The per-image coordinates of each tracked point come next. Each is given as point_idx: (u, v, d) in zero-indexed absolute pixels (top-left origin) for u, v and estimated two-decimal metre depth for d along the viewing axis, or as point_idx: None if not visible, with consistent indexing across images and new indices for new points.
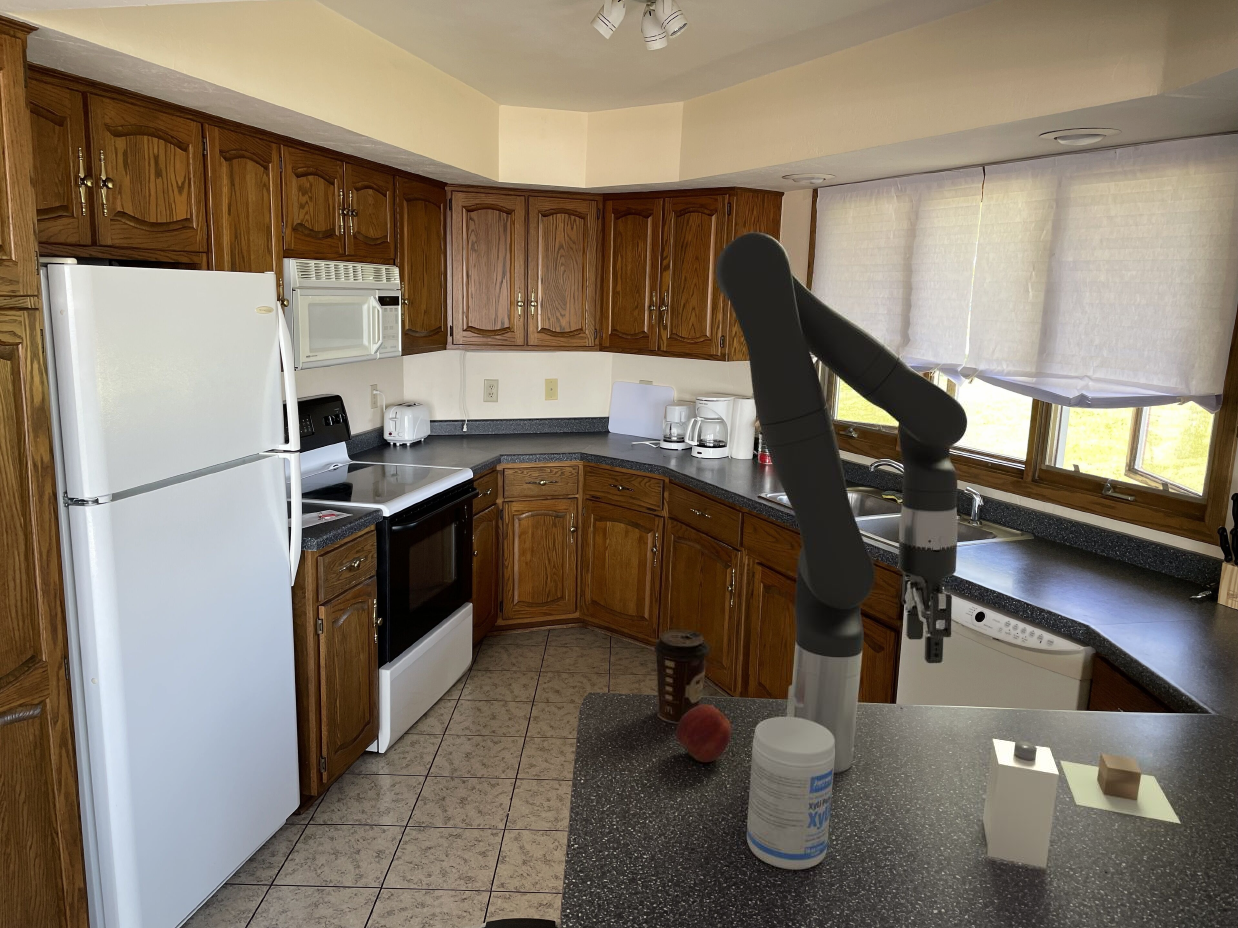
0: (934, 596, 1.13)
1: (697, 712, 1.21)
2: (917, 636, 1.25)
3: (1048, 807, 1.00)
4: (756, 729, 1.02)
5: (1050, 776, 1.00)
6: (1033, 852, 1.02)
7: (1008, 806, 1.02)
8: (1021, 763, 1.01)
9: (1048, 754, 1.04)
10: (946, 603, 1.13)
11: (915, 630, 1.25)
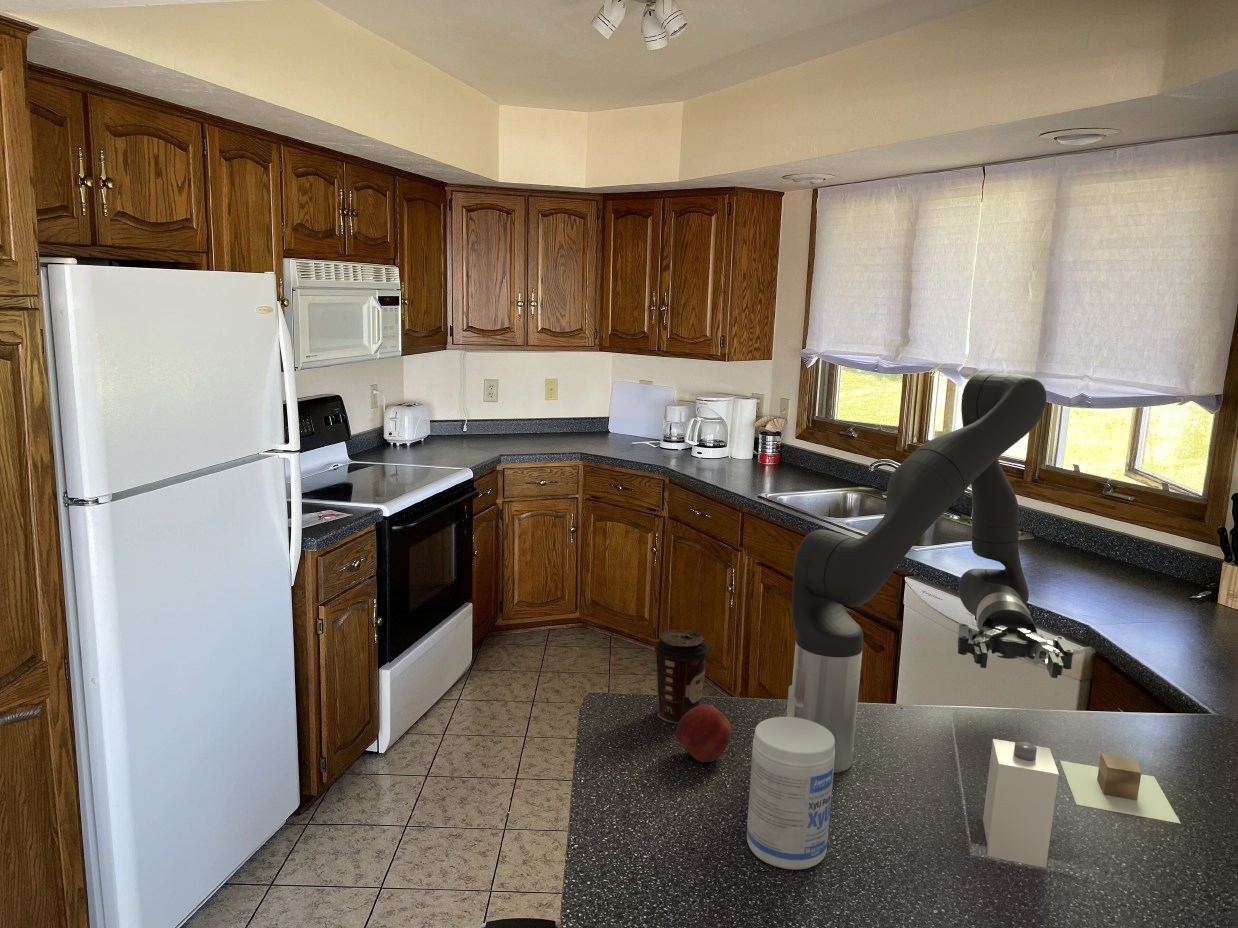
0: (1062, 638, 1.20)
1: (697, 712, 1.21)
2: (986, 662, 1.14)
3: (1048, 807, 1.00)
4: (756, 729, 1.02)
5: (1050, 776, 1.00)
6: (1033, 852, 1.02)
7: (1008, 806, 1.02)
8: (1021, 763, 1.01)
9: (1048, 754, 1.04)
10: None
11: None
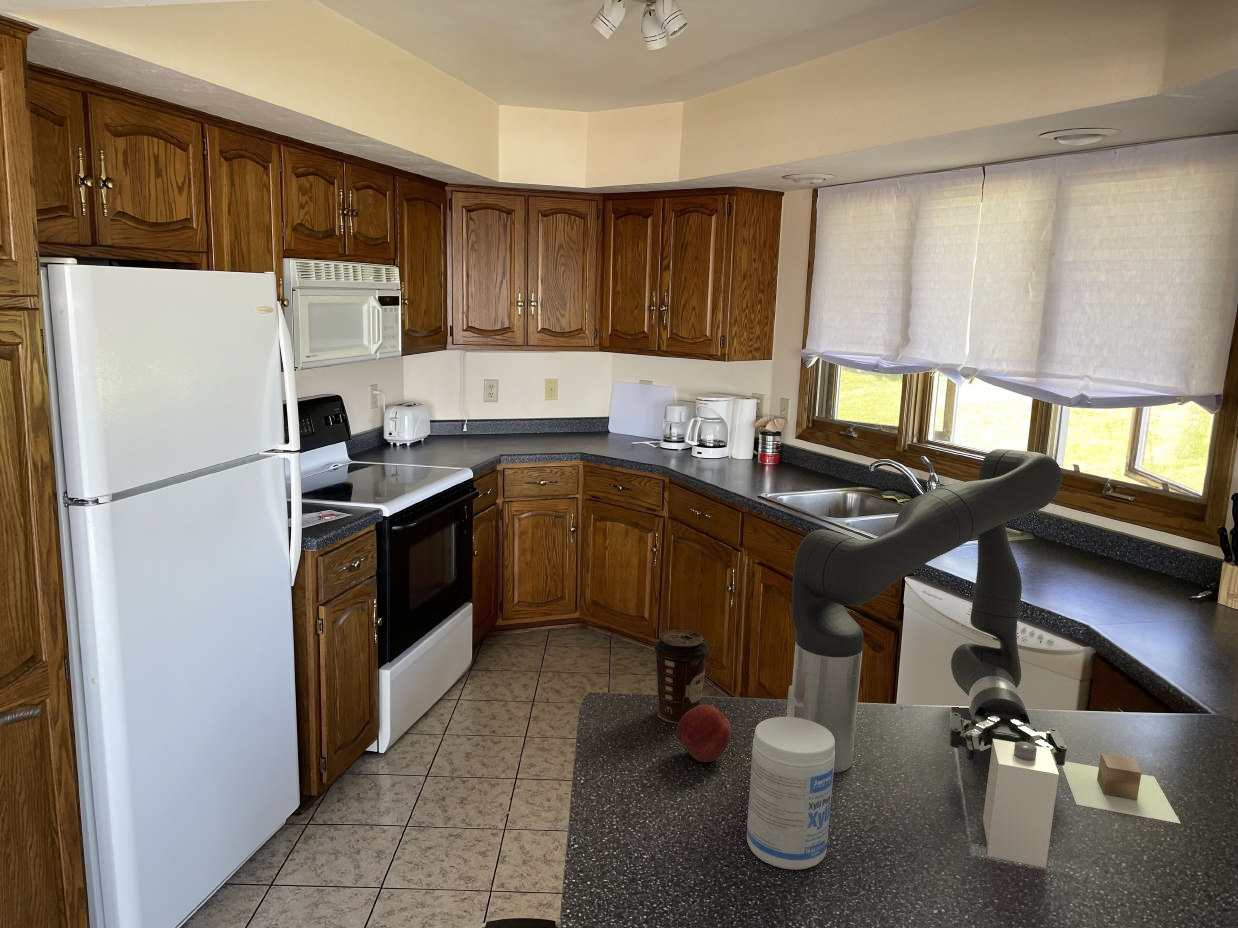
0: (1056, 730, 1.19)
1: (697, 712, 1.21)
2: (978, 758, 1.13)
3: (1048, 807, 1.00)
4: (756, 729, 1.02)
5: (1050, 776, 1.00)
6: (1033, 852, 1.02)
7: (1008, 806, 1.02)
8: (1021, 763, 1.01)
9: (1048, 754, 1.04)
10: None
11: None
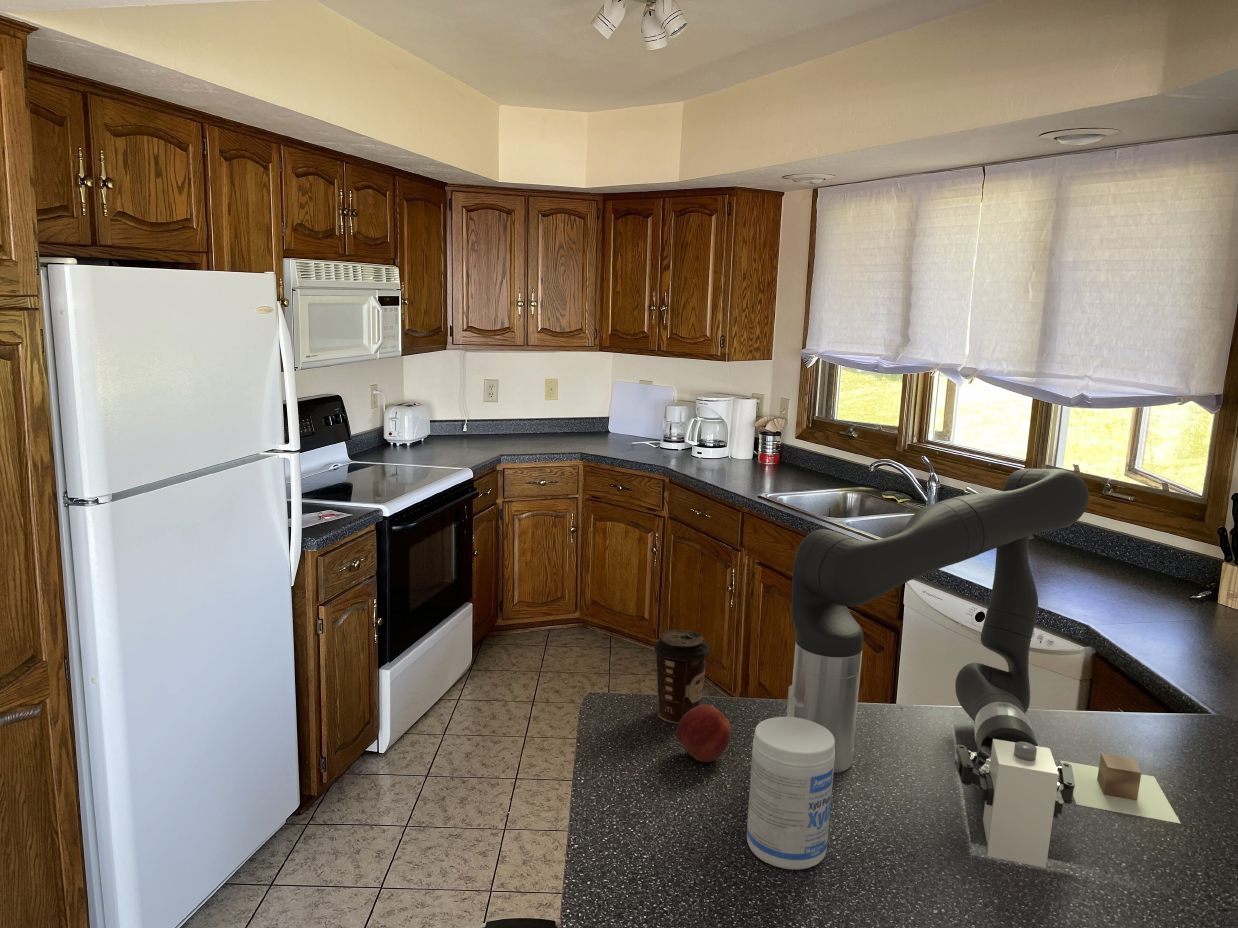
0: (1070, 765, 1.09)
1: (697, 712, 1.21)
2: None
3: (1048, 807, 1.00)
4: (756, 729, 1.02)
5: (1050, 776, 1.00)
6: (1033, 852, 1.02)
7: (1008, 806, 1.02)
8: (1021, 763, 1.01)
9: (1048, 754, 1.04)
10: None
11: None
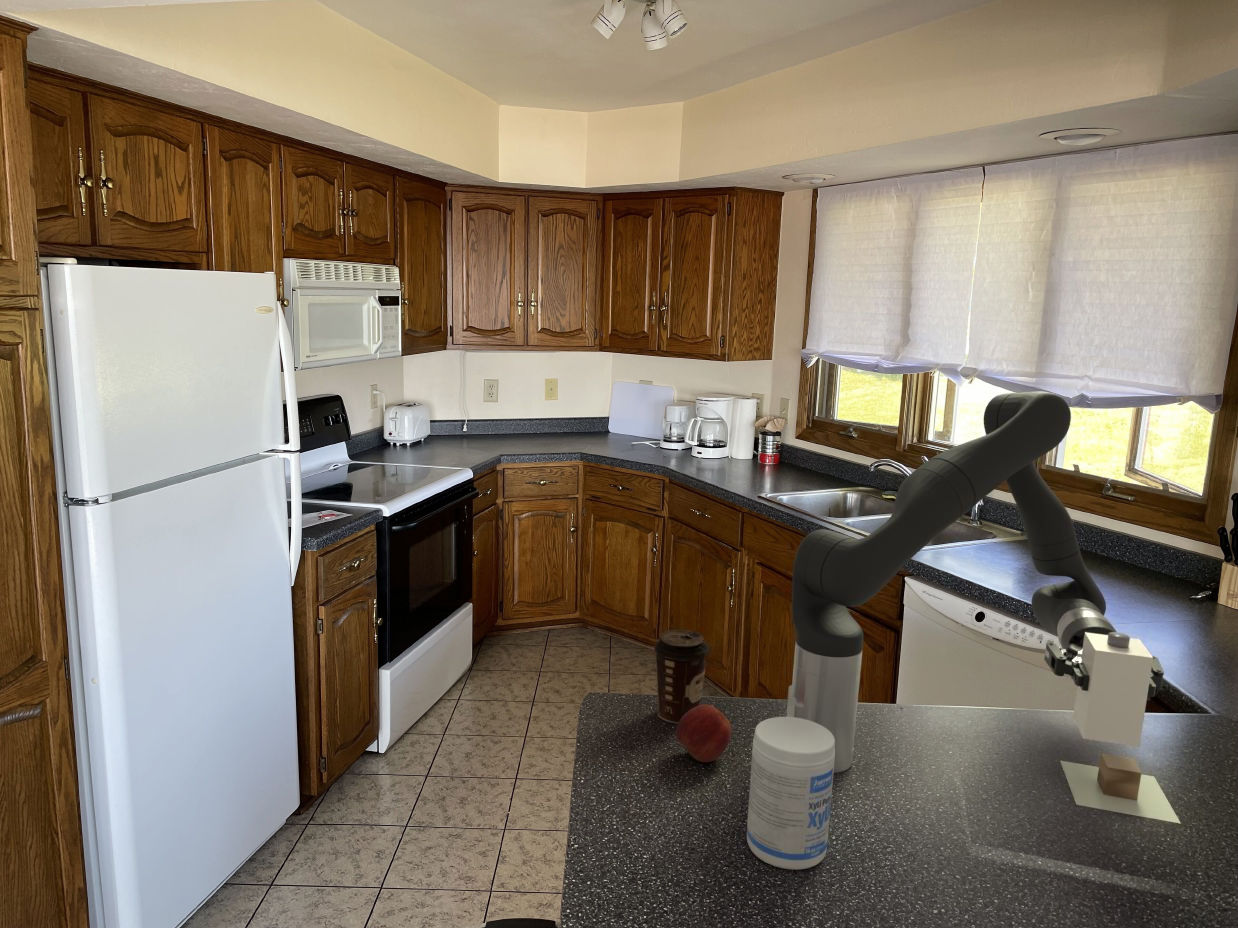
0: (1156, 658, 1.17)
1: (697, 712, 1.21)
2: None
3: (1142, 689, 1.08)
4: (756, 729, 1.02)
5: (1145, 660, 1.07)
6: (1127, 733, 1.09)
7: (1104, 690, 1.09)
8: (1116, 650, 1.09)
9: (1139, 644, 1.11)
10: None
11: None
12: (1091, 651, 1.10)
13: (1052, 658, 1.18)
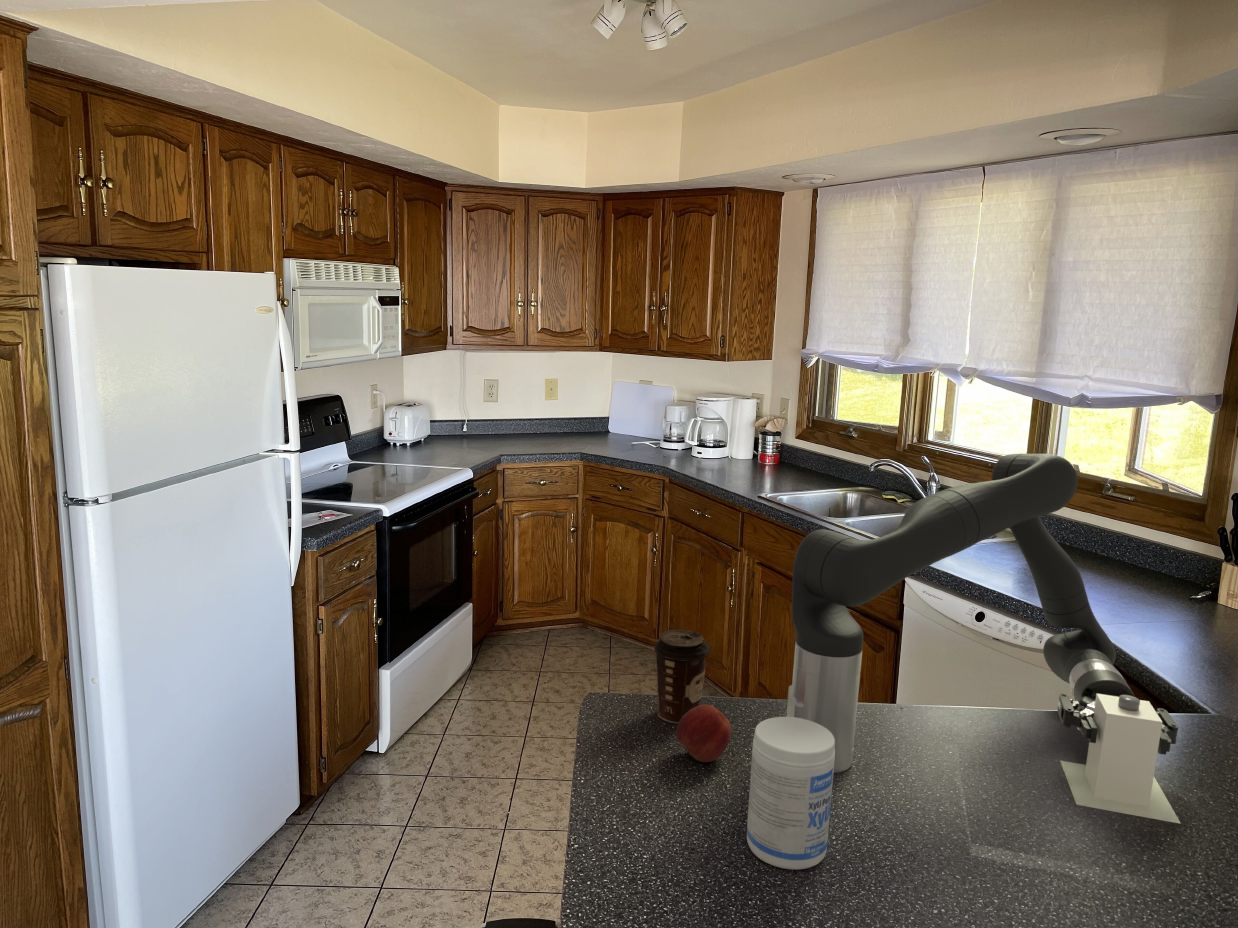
0: (1164, 710, 1.22)
1: (697, 712, 1.21)
2: None
3: (1152, 752, 1.12)
4: (756, 729, 1.02)
5: (1154, 724, 1.12)
6: (1137, 793, 1.14)
7: (1115, 751, 1.14)
8: (1127, 713, 1.13)
9: (1149, 706, 1.16)
10: None
11: None
12: (1103, 713, 1.15)
13: (1062, 709, 1.23)
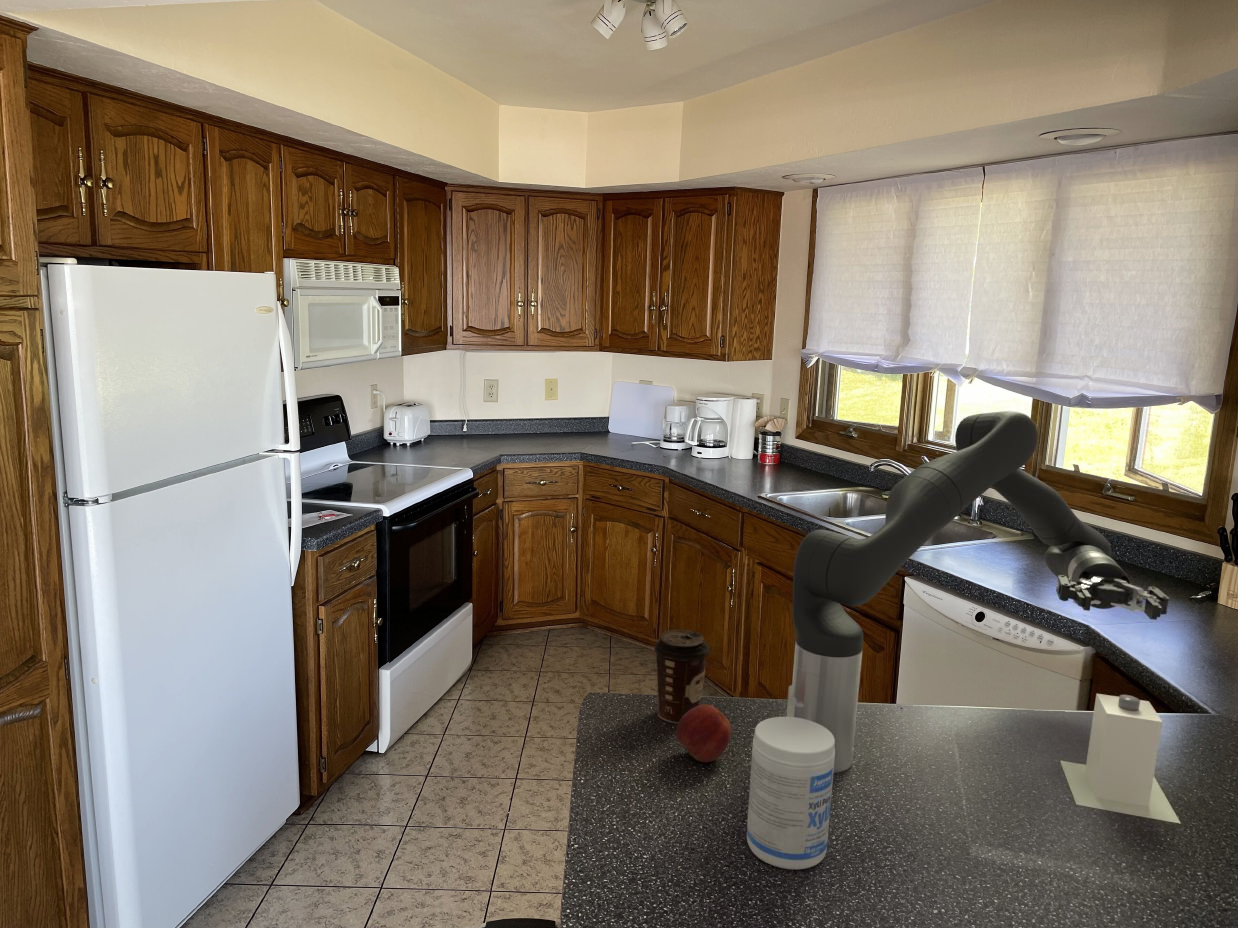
0: (1155, 588, 1.31)
1: (697, 712, 1.21)
2: None
3: (1152, 752, 1.12)
4: (756, 729, 1.02)
5: (1154, 724, 1.12)
6: (1137, 793, 1.14)
7: (1115, 751, 1.14)
8: (1127, 713, 1.13)
9: (1149, 706, 1.16)
10: None
11: None
12: (1103, 713, 1.15)
13: (1060, 586, 1.32)
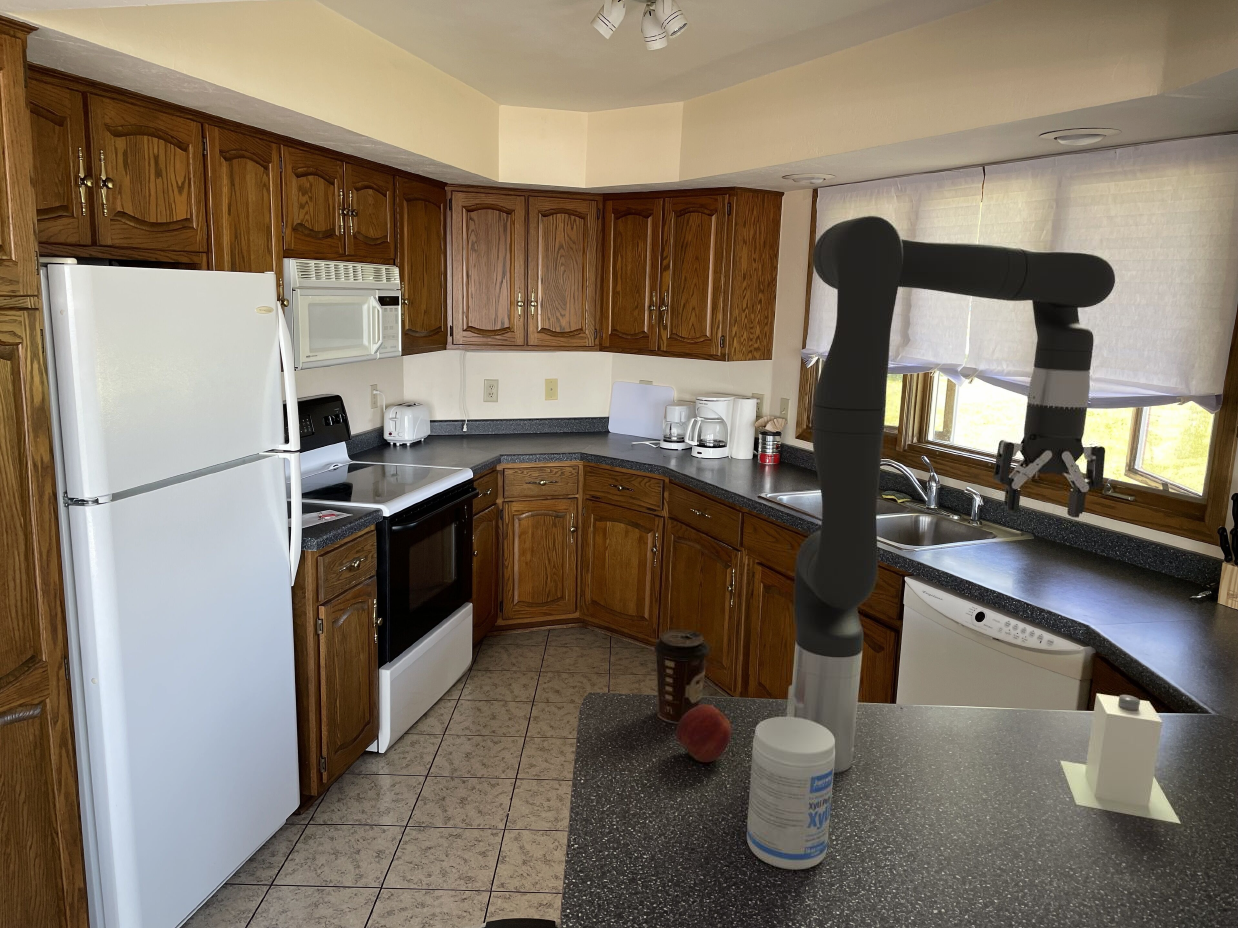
0: (1103, 447, 1.20)
1: (697, 712, 1.21)
2: None
3: (1152, 752, 1.12)
4: (756, 729, 1.02)
5: (1154, 724, 1.12)
6: (1137, 793, 1.14)
7: (1115, 751, 1.14)
8: (1127, 713, 1.13)
9: (1149, 706, 1.16)
10: None
11: None
12: (1103, 713, 1.15)
13: (1000, 464, 1.22)
